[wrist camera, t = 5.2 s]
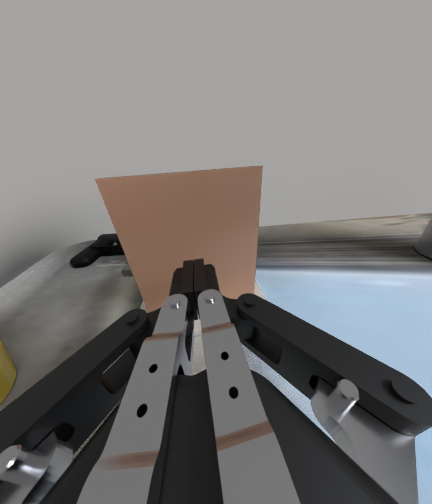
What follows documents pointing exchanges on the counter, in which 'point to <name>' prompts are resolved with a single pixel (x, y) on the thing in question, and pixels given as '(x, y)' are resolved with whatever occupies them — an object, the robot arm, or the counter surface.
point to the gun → (101, 252)
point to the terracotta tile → (187, 226)
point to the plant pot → (6, 373)
